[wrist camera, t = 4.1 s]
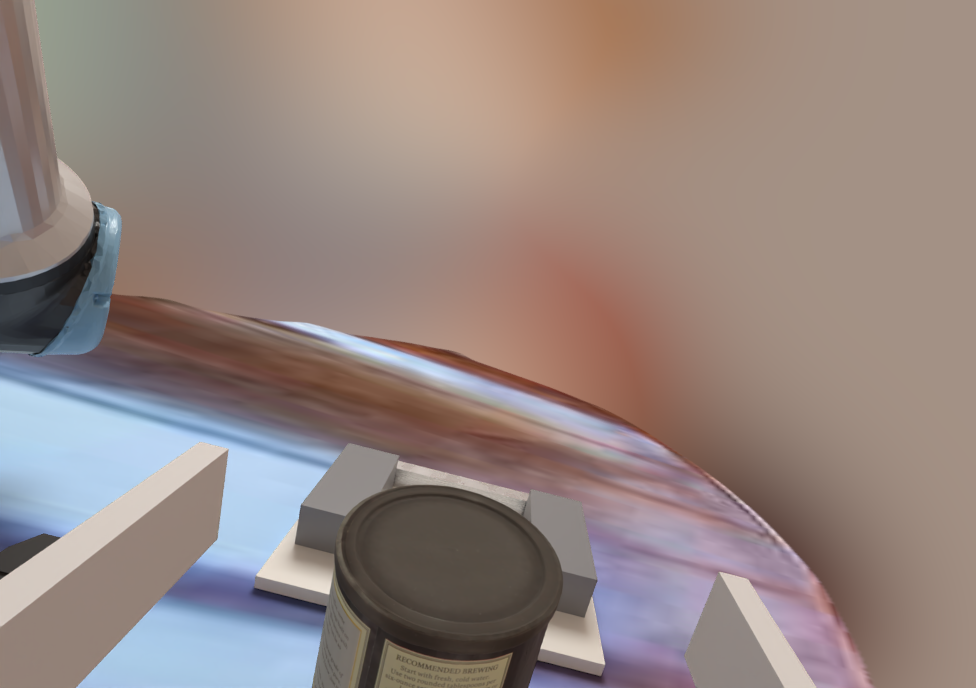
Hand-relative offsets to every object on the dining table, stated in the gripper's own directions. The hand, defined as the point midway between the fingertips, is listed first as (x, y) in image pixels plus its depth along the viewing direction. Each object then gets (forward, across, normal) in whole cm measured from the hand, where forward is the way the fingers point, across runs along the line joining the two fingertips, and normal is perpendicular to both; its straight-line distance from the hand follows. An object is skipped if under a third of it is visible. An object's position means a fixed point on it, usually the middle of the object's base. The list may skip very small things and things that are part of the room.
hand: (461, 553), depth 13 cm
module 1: (+28, -9, -19) cm, 35 cm away
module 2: (+28, +9, -19) cm, 35 cm away
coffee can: (+9, 0, -20) cm, 22 cm away
